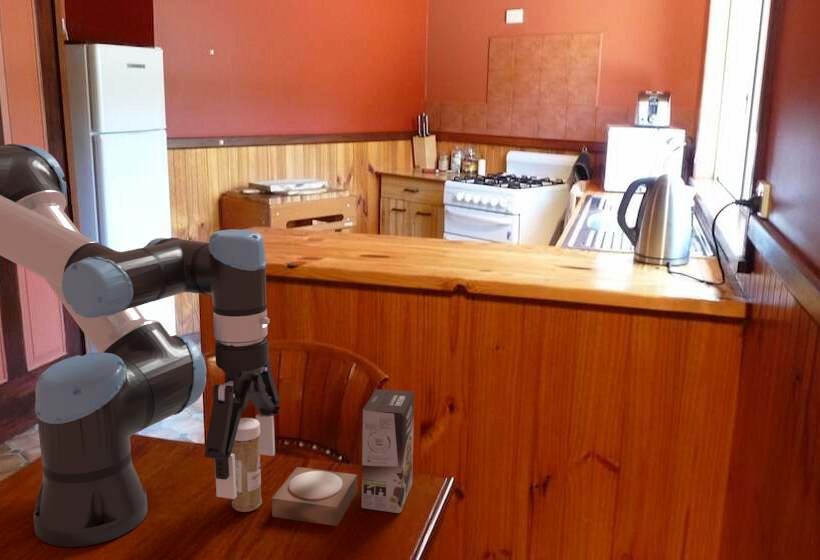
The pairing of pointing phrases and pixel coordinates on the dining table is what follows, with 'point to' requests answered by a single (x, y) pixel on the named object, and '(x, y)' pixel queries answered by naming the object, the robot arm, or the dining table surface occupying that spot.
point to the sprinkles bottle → (247, 466)
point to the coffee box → (387, 450)
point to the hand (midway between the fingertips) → (247, 474)
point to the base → (315, 496)
